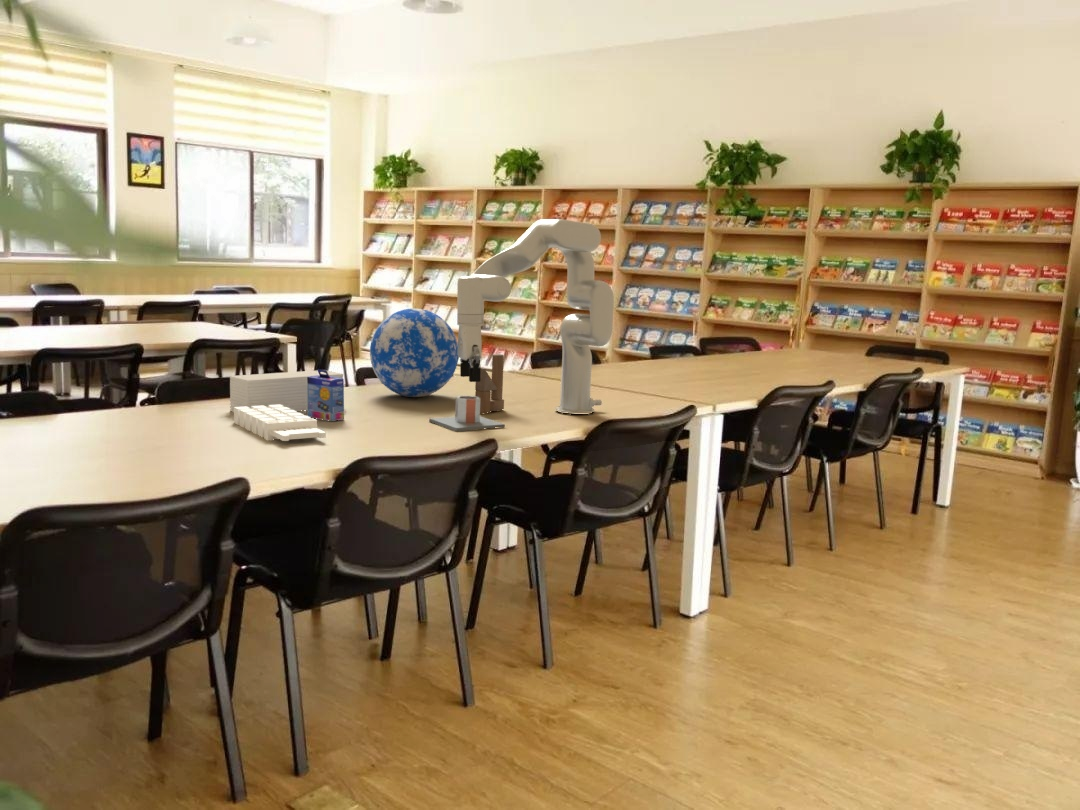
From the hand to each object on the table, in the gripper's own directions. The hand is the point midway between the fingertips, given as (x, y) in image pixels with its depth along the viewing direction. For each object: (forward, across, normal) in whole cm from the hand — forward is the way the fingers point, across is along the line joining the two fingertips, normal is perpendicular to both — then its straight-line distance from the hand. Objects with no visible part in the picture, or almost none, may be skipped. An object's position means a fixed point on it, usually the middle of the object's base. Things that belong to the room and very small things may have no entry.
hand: (470, 379), depth 273 cm
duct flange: (+13, 0, -1) cm, 13 cm away
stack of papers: (+13, -30, -49) cm, 59 cm away
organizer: (+12, +6, -54) cm, 56 cm away
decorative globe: (+14, -52, -6) cm, 54 cm away
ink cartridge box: (+13, -13, -40) cm, 44 cm away
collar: (+12, 0, -1) cm, 12 cm away
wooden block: (+14, -21, +12) cm, 28 cm away
